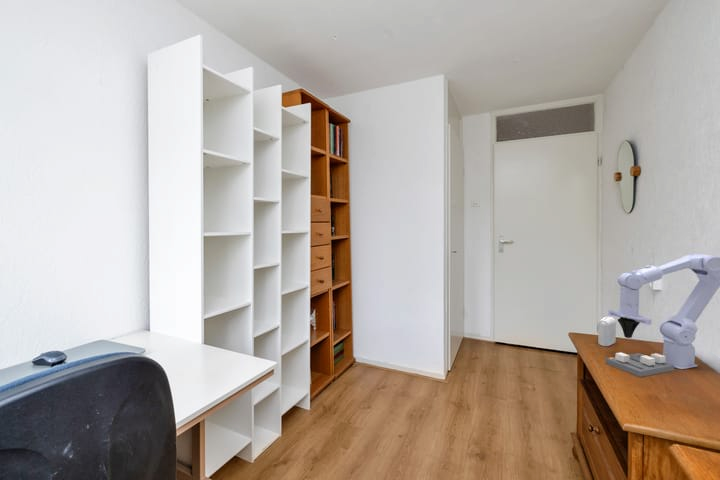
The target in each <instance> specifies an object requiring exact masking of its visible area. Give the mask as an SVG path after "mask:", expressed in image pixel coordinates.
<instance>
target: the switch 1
mask: <svg viewBox="0 0 720 480" xmlns="http://www.w3.org/2000/svg"><path fill="white" fill-rule="evenodd" d="M614 357H615V359H616V360H618V361H621V362H629V359H630V354H628V353H627V354H626V353H624V352H616V353H615V355H614Z"/></svg>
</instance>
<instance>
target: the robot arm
mask: <svg viewBox="0 0 720 480" xmlns="http://www.w3.org/2000/svg"><path fill="white" fill-rule="evenodd" d="M685 269H690V270H691V271H692V272H693V273H694V274H695V275H696V277H697V278H698V280H699V281H698V282H697V283H696V285H695V286H694V287H693V289H692V290H691V292H690V294H689V296H688V297H687V298H686V299H685V301H684V303H683V304H682V306H681V307H680V308H679V310H678V312H677V313H676V314H675V315H672V316H670V317H668V319H667V320H666V321H664V322H662V323H661V324H660V325H659V332H660V333H661V335H662V336H663V337H662V338H663V347H662V349H663V351H662V355H663V356H666V358H665V362H666V363H669V364H672V365H674V369H675V368H676V369H679V370H686V369H690V368H696V367H697V368H698V365H697V364H695V357H696V349H695V346H694V345H693V342H694V341H695V340H696V334H697V332H698V330H699V329H698V328H697V325H696V322H697V321H698V319H699V318H700V316H701V315H702V313H703V311H705V309H706V307H707V306H708V304H709V303H710V302H711V300H712V299H713V298H714V295H715V294H716V293H717V291H718V289H719V288H720V256H719V255H715V254H714V255H713V254H711V255H709V254H701V253H696V252H695V253H691V254H687V255H683V256H681V258H678V259H677V258H676V259H674V260H672V261H670V262H666V263H664V264H662V265H660V266H656V265H649V264H648V265H645V266H644V268H640V269H637V270H635V269H634V270H631V272H623V273H622V274H620V275H619V276H618V278H617V279H616V280H617V284H618V285H619V286H620V291H619V292H620V293H619V295H620V296H619V297H620V298H619V310H614V309H609V310H608V315H609V316H614V317H618V319H617V321H618V323H619V325H620V327H621V329H622V332H623V335H624V338H627V339H632V338H633V335H634V333H635V330H636V329H637V327H638V326H639V325H640V323H641V324H644V325H646V326H647V325H652V319H651V318H648V317H645V316H642V315H639V309H640V307H639V305H640V289H641V288H642V287H643V286H644V285H647V284H650V283H652V282H653V283H654V282H656V281H659V280H662V278H663V277H664V275H669V274H671V273H675V272H678V271H683V270H685Z"/></svg>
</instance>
